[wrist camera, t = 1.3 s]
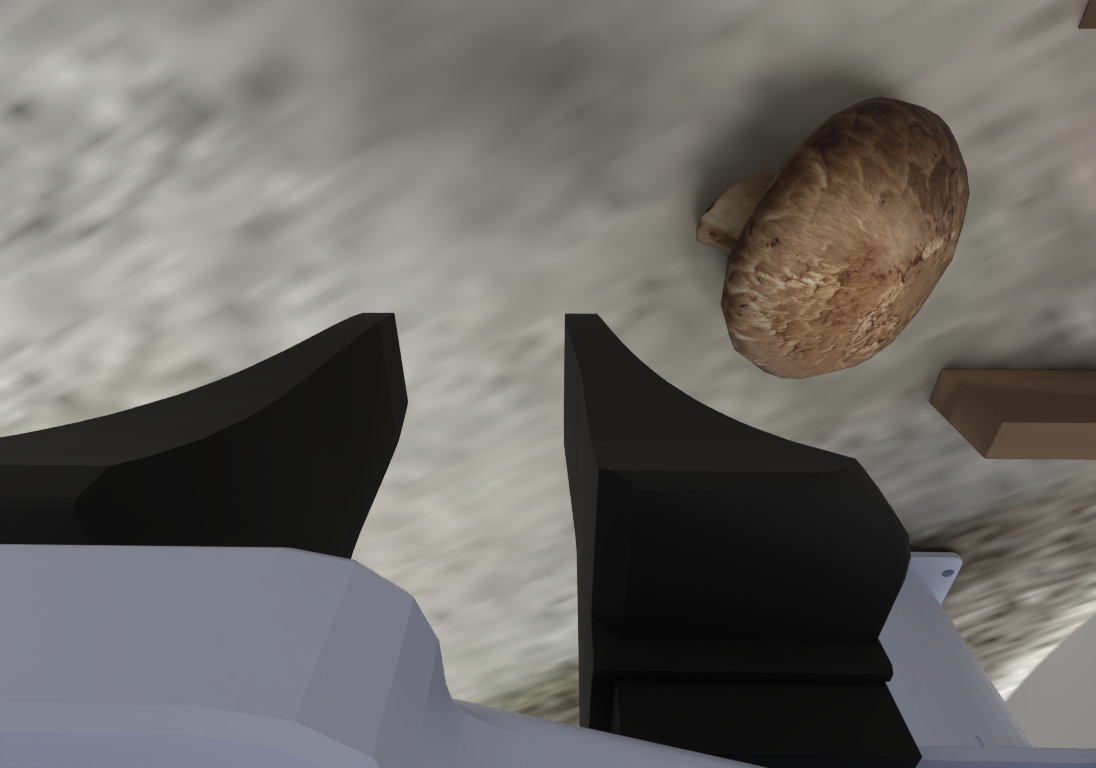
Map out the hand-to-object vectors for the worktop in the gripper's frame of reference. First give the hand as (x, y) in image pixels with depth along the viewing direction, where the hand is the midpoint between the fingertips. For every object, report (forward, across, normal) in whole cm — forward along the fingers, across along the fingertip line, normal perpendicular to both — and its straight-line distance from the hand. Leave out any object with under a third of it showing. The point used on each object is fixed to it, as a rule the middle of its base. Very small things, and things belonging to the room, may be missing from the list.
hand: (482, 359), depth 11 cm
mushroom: (+10, -10, 0) cm, 14 cm away
